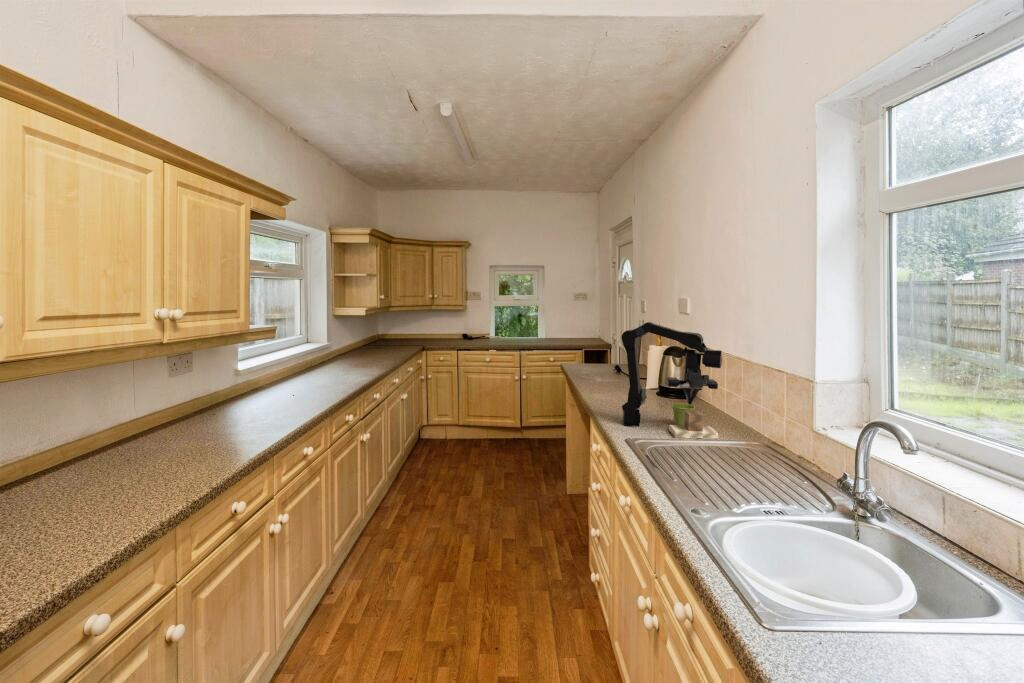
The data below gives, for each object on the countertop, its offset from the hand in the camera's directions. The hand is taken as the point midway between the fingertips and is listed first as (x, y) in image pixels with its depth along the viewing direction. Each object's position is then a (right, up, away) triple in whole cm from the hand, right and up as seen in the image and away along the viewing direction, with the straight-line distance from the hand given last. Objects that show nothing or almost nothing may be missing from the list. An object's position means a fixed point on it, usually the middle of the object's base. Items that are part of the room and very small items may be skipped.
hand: (689, 404), depth 198 cm
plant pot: (+1, -11, +11) cm, 16 cm away
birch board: (+1, -12, -1) cm, 12 cm away
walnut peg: (+1, -12, -1) cm, 12 cm away
